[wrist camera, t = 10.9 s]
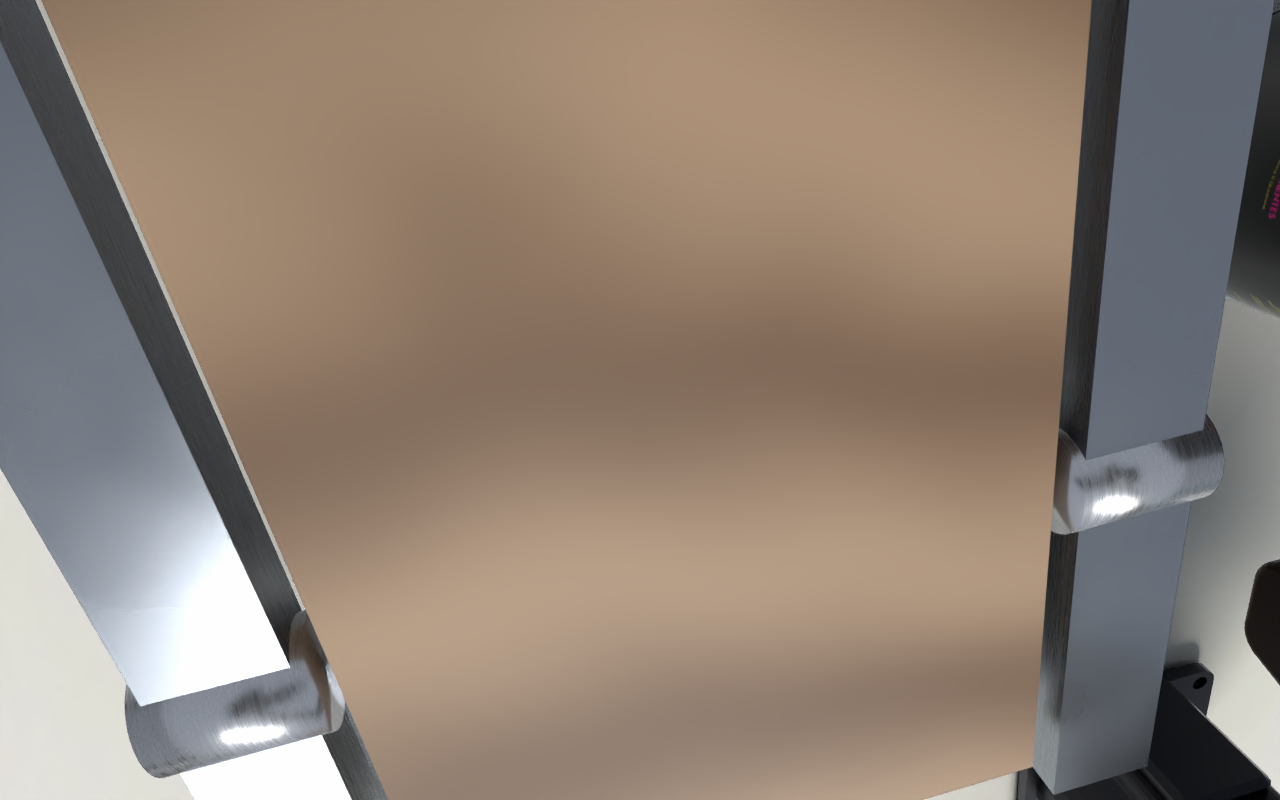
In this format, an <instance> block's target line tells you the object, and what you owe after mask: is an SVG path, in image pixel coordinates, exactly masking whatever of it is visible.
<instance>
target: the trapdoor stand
mask: <svg viewBox="0 0 1280 800" xmlns="http://www.w3.org/2000/svg"><path fill="white" fill-rule="evenodd" d="M1273 6H1274V0H1092V3H1091V16H1090V29H1089V42H1088V55H1087V68H1086V81H1085V94H1084V107H1083V120H1082V133H1081V146H1080V159H1079V171H1078V184H1077V197H1076V210H1075V223H1074V236H1073V249H1072V262H1071V275H1070V288H1069V301H1068V314H1067V327H1066V340H1065V353H1064V366H1063V379H1062V392H1061V405H1060V418H1059V431H1058V444H1057V457H1056V470H1055V483H1054V496H1053V509H1052V522H1051V535H1050V548H1049V561H1048V574H1047V587H1046V600H1045V613H1044V626H1043V639H1042V651H1041V664H1040V677H1039V690H1038V703H1037V716H1036V729H1035V742H1034V755H1033V768H1034V769H1035V771H1036V772H1037V773H1038V775H1039V776H1040V777H1041V779H1042V780H1043V781H1044V783H1045V784H1046V785H1047V787H1048V788H1049V789H1050V791H1051V792H1052V793H1053V795H1055V794H1058V793H1062V792H1065V791H1068V790H1072V789H1075V788H1078V787H1081V786H1085V785H1088V784H1091V783H1095V782H1098V781H1101V780H1104V779H1108V778H1111V777H1114V776H1118V775H1121V774H1124V773H1127V772H1131V771H1134V770H1137V769H1140V768H1144V767H1147V765H1148V759H1149V753H1150V747H1151V741H1152V735H1153V729H1154V723H1155V717H1156V711H1157V705H1158V699H1159V693H1160V687H1161V681H1162V675H1163V669H1164V663H1165V657H1166V651H1167V645H1168V639H1169V633H1170V627H1171V621H1172V615H1173V609H1174V603H1175V597H1176V591H1177V585H1178V578H1179V572H1180V566H1181V560H1182V554H1183V548H1184V542H1185V536H1186V530H1187V524H1188V518H1189V512H1190V506H1191V501H1193V500H1196V499H1200V498H1204V497H1206V496H1209V495H1210V494H1212V493H1213V492H1214V491H1215V490H1216V489H1217V487H1218V486H1219V484H1220V482H1221V479H1222V476H1223V471H1224V454H1223V448H1222V444H1221V441H1220V438H1219V435H1218V433H1217V430H1216V428H1215V427H1214V425H1213V423H1212V421H1211V420H1210V418H1209V417H1208V416H1207V414H1206V410H1207V404H1208V398H1209V392H1210V386H1211V380H1212V374H1213V368H1214V362H1215V356H1216V350H1217V344H1218V337H1219V331H1220V325H1221V319H1222V313H1223V307H1224V301H1225V295H1226V289H1227V283H1228V277H1229V271H1230V265H1231V259H1232V253H1233V247H1234V241H1235V235H1236V229H1237V223H1238V217H1239V211H1240V205H1241V199H1242V193H1243V187H1244V181H1245V175H1246V169H1247V163H1248V157H1249V151H1250V145H1251V139H1252V133H1253V127H1254V121H1255V115H1256V109H1257V102H1258V96H1259V90H1260V84H1261V78H1262V72H1263V66H1264V60H1265V54H1266V48H1267V42H1268V36H1269V30H1270V24H1271V18H1272V12H1273ZM0 468H1V470H2V472H3V473H4V475H5V477H6V479H7V480H8V482H9V484H10V485H11V487H12V489H13V490H14V492H15V494H16V496H17V497H18V499H19V501H20V502H21V504H22V506H23V507H24V509H25V511H26V513H27V514H28V516H29V518H30V519H31V521H32V523H33V525H34V526H35V528H36V530H37V531H38V533H39V535H40V536H41V538H42V540H43V542H44V543H45V545H46V547H47V548H48V550H49V552H50V553H51V555H52V557H53V559H54V560H55V562H56V564H57V565H58V567H59V569H60V570H61V572H62V574H63V576H64V577H65V579H66V581H67V582H68V584H69V586H70V588H71V589H72V591H73V593H74V594H75V596H76V598H77V599H78V601H79V603H80V605H81V606H82V608H83V610H84V611H85V613H86V615H87V616H88V618H89V620H90V622H91V623H92V625H93V627H94V628H95V630H96V632H97V633H98V635H99V637H100V639H101V640H102V642H103V644H104V645H105V647H106V649H107V651H108V652H109V654H110V656H111V657H112V659H113V661H114V662H115V664H116V666H117V668H118V669H119V671H120V673H121V674H122V676H123V678H124V679H125V681H126V683H127V684H126V691H125V717H126V725H127V731H128V735H129V739H130V742H131V745H132V748H133V751H134V753H135V755H136V757H137V759H138V761H139V763H140V764H141V765H142V767H143V768H144V769H145V770H146V771H147V772H148V773H149V774H150V775H152V776H154V777H157V778H165V777H169V776H172V775H176V774H180V775H181V777H182V778H183V780H184V782H185V783H186V785H187V787H188V788H189V790H190V792H191V794H192V795H193V797H194V799H195V800H388V798H387V796H386V793H385V791H384V789H383V786H382V784H381V782H380V780H379V777H378V775H377V773H376V770H375V768H374V766H373V763H372V761H371V759H370V756H369V754H368V752H367V750H366V747H365V745H364V743H363V740H362V738H361V736H360V733H359V731H358V729H357V726H356V724H355V722H354V720H353V717H352V715H351V713H350V710H349V708H348V706H347V703H346V701H345V699H344V696H343V694H342V692H341V690H340V687H339V685H338V683H337V680H336V678H335V676H334V673H333V671H332V669H331V667H330V664H329V662H328V660H327V657H326V655H325V653H324V650H323V648H322V646H321V643H320V641H319V639H318V637H317V634H316V632H315V630H314V627H313V625H312V623H311V620H310V618H309V616H308V613H307V611H306V610H304V611H302V610H301V608H300V605H299V603H298V601H297V598H296V596H295V594H294V592H293V589H292V587H291V585H290V582H289V580H288V578H287V576H286V573H285V571H284V569H283V566H282V564H281V562H280V559H279V557H278V555H277V553H276V550H275V548H274V546H273V543H272V541H271V539H270V537H269V534H268V532H267V530H266V527H265V525H264V523H263V521H262V518H261V516H260V514H259V511H258V509H257V507H256V505H255V502H254V500H253V498H252V495H251V493H250V491H249V488H248V486H247V484H246V482H245V479H244V477H243V475H242V472H241V470H240V468H239V466H238V463H237V461H236V459H235V456H234V454H233V452H232V450H231V447H230V445H229V443H228V440H227V438H226V436H225V434H224V431H223V429H222V427H221V424H220V422H219V420H218V417H217V415H216V413H215V411H214V408H213V406H212V404H211V401H210V399H209V397H208V395H207V392H206V390H205V388H204V385H203V383H202V381H201V379H200V376H199V374H198V372H197V369H196V367H195V365H194V363H193V360H192V358H191V356H190V353H189V351H188V349H187V346H186V344H185V342H184V340H183V337H182V335H181V333H180V330H179V328H178V326H177V324H176V321H175V319H174V317H173V314H172V312H171V310H170V308H169V305H168V303H167V301H166V298H165V296H164V294H163V292H162V289H161V287H160V285H159V282H158V280H157V278H156V276H155V273H154V271H153V269H152V266H151V264H150V262H149V259H148V257H147V255H146V253H145V250H144V248H143V246H142V243H141V241H140V239H139V237H138V234H137V232H136V230H135V227H134V225H133V223H132V221H131V218H130V216H129V214H128V211H127V209H126V207H125V205H124V202H123V200H122V198H121V195H120V193H119V191H118V188H117V186H116V184H115V182H114V179H113V177H112V175H111V172H110V170H109V168H108V166H107V163H106V161H105V159H104V156H103V154H102V152H101V150H100V147H99V145H98V143H97V140H96V138H95V136H94V134H93V131H92V129H91V127H90V124H89V122H88V120H87V117H86V115H85V113H84V111H83V108H82V106H81V104H80V101H79V99H78V97H77V95H76V92H75V90H74V88H73V85H72V83H71V81H70V79H69V76H68V74H67V72H66V69H65V67H64V65H63V63H62V60H61V58H60V56H59V53H58V51H57V49H56V46H55V44H54V42H53V40H52V37H51V35H50V33H49V30H48V28H47V26H46V24H45V21H44V19H43V17H42V14H41V12H40V10H39V8H38V5H37V3H36V1H35V0H0Z"/></svg>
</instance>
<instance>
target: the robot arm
mask: <svg viewBox="0 0 1280 800" xmlns="http://www.w3.org/2000/svg"><path fill="white" fill-rule="evenodd" d="M1244 628H1245V635H1246V638H1247V641H1248V643H1249V645H1250V647H1251V649H1252V651H1253V652H1254V654H1255V655H1256V656H1257V657H1258V659H1259V660H1260V661H1261V662H1262V664H1263V665H1264V666H1265V667H1266V669H1267V670H1268V671H1269V673H1270V674H1271V675H1272V676H1273V678H1274V679H1275V680H1276V681H1277V683H1278V684H1279V685H1280V559H1279V560H1275V561H1272V562H1268V563H1266V564H1264V565H1262V566H1261V567H1260V568H1259V569H1258V571H1257V573H1256V575H1255V579H1254V584H1253V588H1252V593H1251V597H1250V602H1249V607H1248V611H1247V616H1246V620H1245V627H1244ZM1213 680H1214V675H1213V674H1212V673H1211V672H1210V671H1209V670H1208V669H1207V668H1206V667H1205V666H1204V665H1203V664H1201V663H1192V664H1188V665H1185V666H1182V667H1178V668H1175V669H1171V670H1168V671H1164V672H1163V675H1162V681H1161V687H1160V693H1159V699H1158V705H1157V711H1156V717H1155V723H1154V729H1153V735H1152V741H1151V747H1150V753H1149V759H1148V765H1147V767H1144V768H1140V769H1137V770H1134V771H1131V772H1127V773H1124V774H1121V775H1118V776H1114V777H1111V778H1108V779H1104V780H1101V781H1098V782H1095V783H1091V784H1088V785H1085V786H1081V787H1078V788H1075V789H1072V790H1068V791H1065V792H1062V793H1058V794H1055V795H1053V793H1052V792H1051V791H1050V789H1049V788H1048V787H1047V785H1046V784H1045V783H1044V781H1043V780H1042V779H1041V777H1040V776H1039V775H1038V773H1037V772H1036V771H1035V769H1034V768H1033V767H1030V768H1027V769H1024V770H1020V771H1019V786H1018V800H1280V794H1279V793H1278V792H1277V791H1276V790H1275V789H1274V788H1273V787H1272V786H1271V780H1270V779H1269V777H1268V776H1267V775H1266V774H1265V773H1264V772H1263V771H1262V770H1261V769H1260V768H1259V767H1258V766H1257V765H1256V764H1255V763H1254V762H1253V761H1252V760H1251V759H1250V758H1249V757H1248V756H1246V755H1245V754H1244V753H1243V752H1242V751H1241V750H1240V749H1239V748H1238V747H1237V746H1236V745H1235V744H1234V743H1233V742H1232V741H1231V740H1230V739H1229V738H1228V737H1227V736H1226V735H1225V734H1224V733H1223V732H1222V731H1221V730H1220V729H1219V728H1218V727H1217V726H1216V725H1215V724H1213V723H1212V722H1211V721H1210V720H1209V719H1208V718H1207V717H1206V714H1207V710H1208V705H1209V700H1210V695H1211V690H1212V685H1213Z"/></svg>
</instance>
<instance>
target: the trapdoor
mask: <svg viewBox="0 0 1280 800" xmlns="http://www.w3.org/2000/svg"><path fill="white" fill-rule="evenodd" d="M42 2H43V5H44V7H45V9H46V12H47V14H48V16H49V18H50V21H51V23H52V25H53V28H54V30H55V32H56V35H57V37H58V39H59V42H60V44H61V46H62V48H63V51H64V53H65V55H66V58H67V60H68V62H69V65H70V67H71V69H72V71H73V74H74V76H75V78H76V81H77V83H78V85H79V88H80V90H81V92H82V95H83V97H84V99H85V101H86V104H87V106H88V108H89V111H90V113H91V115H92V118H93V120H94V122H95V125H96V127H97V129H98V131H99V134H100V136H101V138H102V141H103V143H104V145H105V148H106V150H107V152H108V155H109V157H110V159H111V161H112V164H113V166H114V168H115V171H116V173H117V175H118V178H119V180H120V182H121V184H122V187H123V189H124V191H125V194H126V196H127V198H128V201H129V203H130V205H131V208H132V210H133V212H134V214H135V217H136V219H137V221H138V224H139V226H140V228H141V231H142V233H143V235H144V238H145V240H146V242H147V244H148V247H149V249H150V251H151V254H152V256H153V258H154V261H155V263H156V265H157V268H158V270H159V272H160V274H161V277H162V279H163V281H164V284H165V286H166V288H167V291H168V293H169V295H170V297H171V300H172V302H173V304H174V307H175V309H176V311H177V314H178V316H179V318H180V321H181V323H182V325H183V327H184V330H185V332H186V334H187V337H188V339H189V341H190V344H191V346H192V348H193V351H194V353H195V355H196V357H197V360H198V362H199V364H200V367H201V369H202V371H203V374H204V376H205V378H206V381H207V383H208V385H209V387H210V390H211V392H212V394H213V397H214V399H215V401H216V404H217V406H218V408H219V411H220V413H221V415H222V417H223V420H224V422H225V424H226V427H227V429H228V431H229V434H230V436H231V438H232V440H233V443H234V445H235V447H236V450H237V452H238V454H239V457H240V459H241V461H242V464H243V466H244V468H245V470H246V473H247V475H248V477H249V480H250V482H251V484H252V487H253V489H254V491H255V494H256V496H257V498H258V500H259V503H260V505H261V507H262V510H263V512H264V514H265V517H266V519H267V521H268V524H269V526H270V528H271V530H272V533H273V535H274V537H275V540H276V542H277V544H278V547H279V549H280V551H281V553H282V556H283V558H284V560H285V563H286V565H287V567H288V570H289V572H290V574H291V577H292V579H293V581H294V583H295V586H296V588H297V590H298V593H299V595H300V597H301V600H302V602H303V604H304V607H305V609H306V611H307V613H308V616H309V618H310V620H311V623H312V625H313V627H314V630H315V632H316V634H317V637H318V639H319V641H320V643H321V646H322V648H323V650H324V653H325V655H326V657H327V660H328V662H329V664H330V667H331V669H332V671H333V673H334V676H335V678H336V680H337V683H338V685H339V687H340V690H341V692H342V694H343V696H344V699H345V701H346V703H347V706H348V708H349V710H350V713H351V715H352V717H353V720H354V722H355V724H356V726H357V729H358V731H359V733H360V736H361V738H362V740H363V743H364V745H365V747H366V750H367V752H368V754H369V756H370V759H371V761H372V763H373V766H374V768H375V770H376V773H377V775H378V777H379V780H380V782H381V784H382V786H383V789H384V791H385V793H386V796H387V798H388V800H924V799H927V798H931V797H934V796H937V795H941V794H944V793H947V792H950V791H954V790H957V789H960V788H964V787H967V786H970V785H974V784H977V783H980V782H984V781H987V780H990V779H994V778H997V777H1000V776H1004V775H1007V774H1010V773H1014V772H1017V771H1020V770H1024V769H1027V768H1030V767H1033V755H1034V742H1035V729H1036V716H1037V703H1038V690H1039V677H1040V664H1041V651H1042V639H1043V626H1044V613H1045V600H1046V587H1047V574H1048V561H1049V548H1050V535H1051V522H1052V509H1053V496H1054V483H1055V470H1056V457H1057V444H1058V431H1059V418H1060V405H1061V392H1062V379H1063V366H1064V353H1065V340H1066V327H1067V314H1068V301H1069V288H1070V275H1071V262H1072V249H1073V236H1074V223H1075V210H1076V197H1077V184H1078V171H1079V159H1080V146H1081V133H1082V120H1083V107H1084V94H1085V81H1086V68H1087V55H1088V42H1089V29H1090V16H1091V3H1092V0H42Z"/></svg>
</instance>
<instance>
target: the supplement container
mask: <svg viewBox="0 0 1280 800" xmlns="http://www.w3.org/2000/svg"><path fill="white" fill-rule="evenodd" d="M1225 298H1228V299H1230V300H1233V301H1235V302H1237V303H1240V304H1242V305H1245V306H1247V307H1250V308H1252V309H1254V310H1257V311H1259V312H1262V313H1264V314H1266V315H1269V316H1271V317H1274V318H1276V319H1279V320H1280V8H1278V9H1275V10H1273V12H1272V18H1271V24H1270V30H1269V36H1268V42H1267V48H1266V54H1265V60H1264V66H1263V72H1262V78H1261V84H1260V90H1259V96H1258V102H1257V109H1256V115H1255V121H1254V127H1253V133H1252V139H1251V145H1250V151H1249V157H1248V163H1247V169H1246V175H1245V181H1244V187H1243V193H1242V199H1241V205H1240V211H1239V217H1238V223H1237V229H1236V235H1235V241H1234V247H1233V253H1232V259H1231V265H1230V271H1229V277H1228V283H1227V289H1226V295H1225Z"/></svg>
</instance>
